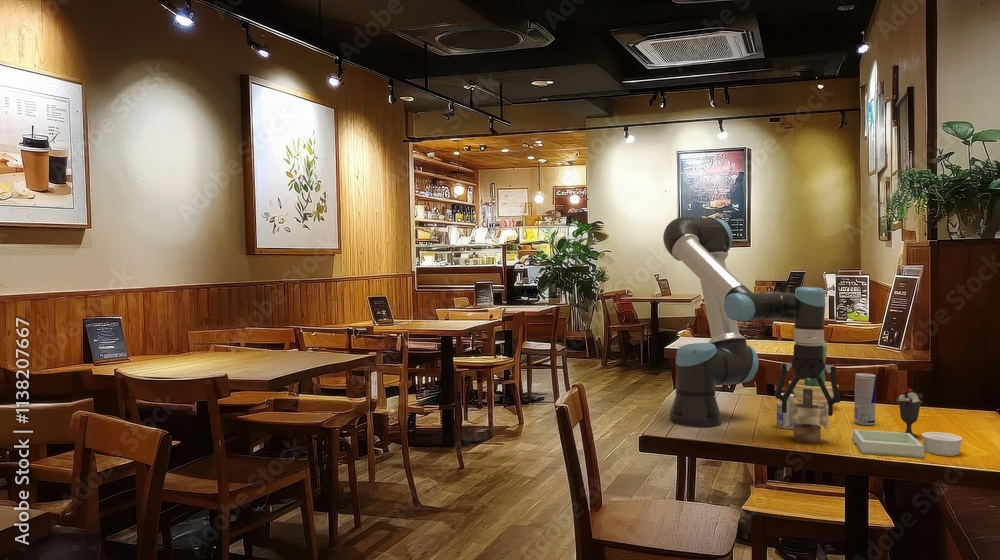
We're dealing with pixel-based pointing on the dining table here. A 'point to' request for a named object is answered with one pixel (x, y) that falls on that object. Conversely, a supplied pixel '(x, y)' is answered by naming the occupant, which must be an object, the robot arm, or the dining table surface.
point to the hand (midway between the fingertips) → (806, 425)
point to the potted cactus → (814, 385)
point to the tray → (888, 443)
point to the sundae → (909, 408)
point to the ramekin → (941, 443)
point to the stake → (807, 431)
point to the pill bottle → (783, 414)
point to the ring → (808, 414)
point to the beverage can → (865, 399)
